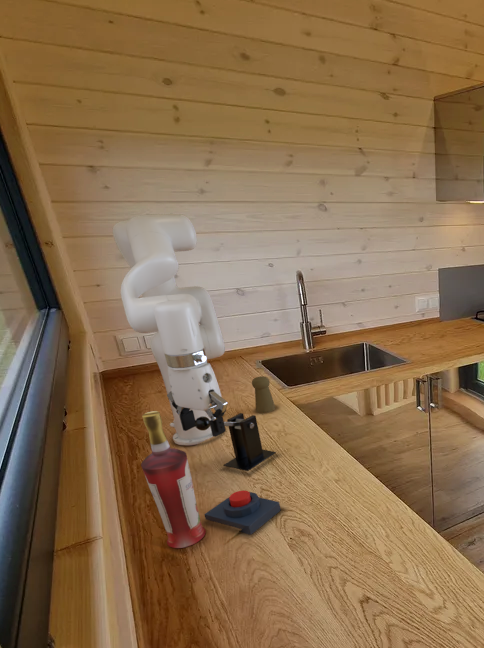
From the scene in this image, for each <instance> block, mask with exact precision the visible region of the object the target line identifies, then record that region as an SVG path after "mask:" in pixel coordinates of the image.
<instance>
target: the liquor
mask: <svg viewBox="0 0 484 648" xmlns="http://www.w3.org/2000/svg"><path fill="white" fill-rule="evenodd" d="M141 417H142V421H143V423H144V426H145V427H146V430H147V432H148V435H149V436H148V438H149V443H150V448H151V453H150V454H148V455H147V456H146V457H145V458H143V460H142V462H141V463H140V467H141V470H142V472H143V474H144V478H145V480H146V482H147V485H148V488H149V490H150V492H151V495H152V497H153V500H154V503H155V505H156V508H157V510H158V513H159V516H160V518H161V521H162V525H163V527H164V529H165V533H166V535H167V540H166V544H167V546H168V547H170V548H173V549H184V548H185V549H186V548H189V547H191V546H194V545H195V544H197V543H198V542H200V541H201V540H202V539H203V538H204V537H205V536H206V533H207V530H206V528H205V527H204V526H203V525H202V520H201V517H200V513H199V507H198V504H197V499H196V493H195V488H194V484H193V477H192V474H191V469H190V464H189V460H188V456H187V452H186V451H184V450H182V449H179V448H173V447H171V445H170V443H169V441H168V438H167V436H166V433H165V432H164V429H163V419H162V415H161V412H160V411H157V410H153V411H148V412H145V413H143V414H142V416H141Z"/></svg>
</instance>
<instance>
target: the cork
mask: <svg viewBox="0 0 484 648" xmlns="http://www.w3.org/2000/svg"><path fill="white" fill-rule="evenodd" d="M270 382H271V381H270V379H269V378H268V377H267V376H264V375H262V376H257V377H254V378H253V379H252V381H251V386H252V387H253V389H254V400H255V412H256V413H257V414H268V413H272V412H273V411H275V410H276V405H275V401H274V399H273V395H272V393H271V390H270V387H269V386H270V384H271V383H270Z"/></svg>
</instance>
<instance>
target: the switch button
mask: <svg viewBox="0 0 484 648" xmlns="http://www.w3.org/2000/svg"><path fill="white" fill-rule="evenodd" d="M249 492H250V491H248V490H237V491H235V492H232V493H231V494H230V495H229V497H228V498H229V500H230V504H231V506H232V507H242V506H245V505H247V504H249V503H250V502H251V497H250V493H249Z"/></svg>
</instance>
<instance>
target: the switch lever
mask: <svg viewBox="0 0 484 648" xmlns="http://www.w3.org/2000/svg"><path fill="white" fill-rule="evenodd" d="M244 419H245V418H244ZM244 419H236V421H235V422H227V421H224V425H225V427H228V426H235V428H236V429H241V427H240V422H241V421H243V420H244ZM209 421H210V420H209V419H208V418H207V417H203V416H202V417H199V418H197V419H196V421H195V427H196V428H197V429H198V430H202V431H203V430H207V429H208V428H209V427H210V423H209Z"/></svg>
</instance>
